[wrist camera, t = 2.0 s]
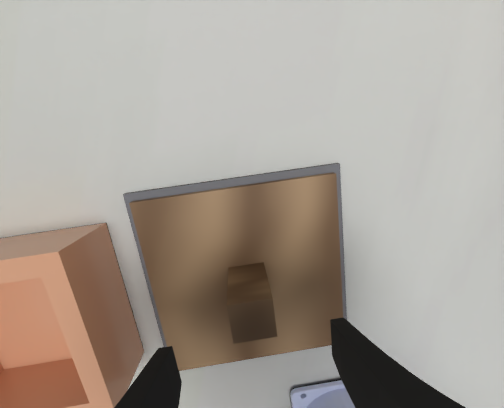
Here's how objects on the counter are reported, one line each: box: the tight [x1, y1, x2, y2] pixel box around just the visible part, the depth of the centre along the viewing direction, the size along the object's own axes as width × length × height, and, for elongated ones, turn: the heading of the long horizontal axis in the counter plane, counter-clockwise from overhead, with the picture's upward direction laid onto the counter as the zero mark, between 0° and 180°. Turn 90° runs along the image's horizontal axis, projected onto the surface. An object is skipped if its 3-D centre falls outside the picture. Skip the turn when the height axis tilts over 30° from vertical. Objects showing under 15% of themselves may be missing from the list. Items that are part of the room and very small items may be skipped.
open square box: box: [0, 223, 144, 408], centre depth 15 cm, size 10×10×4 cm
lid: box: [129, 172, 343, 371], centre depth 15 cm, size 13×13×5 cm
